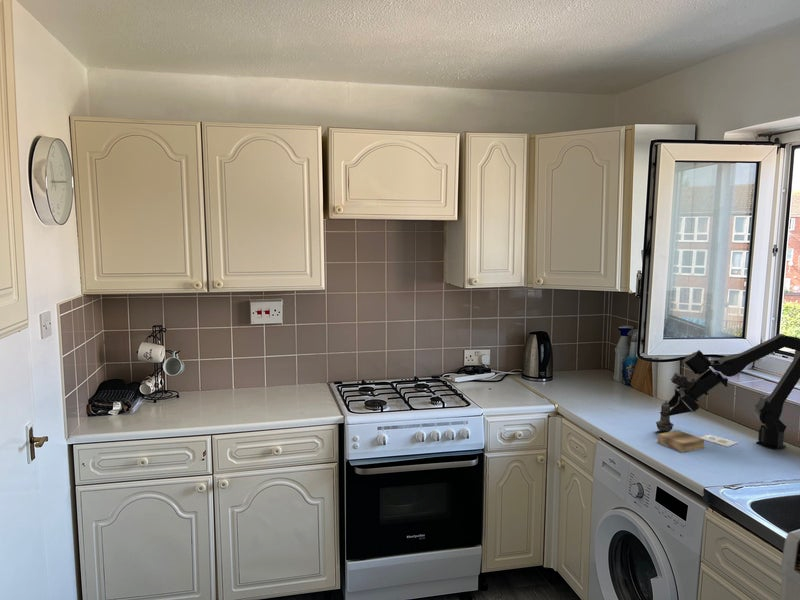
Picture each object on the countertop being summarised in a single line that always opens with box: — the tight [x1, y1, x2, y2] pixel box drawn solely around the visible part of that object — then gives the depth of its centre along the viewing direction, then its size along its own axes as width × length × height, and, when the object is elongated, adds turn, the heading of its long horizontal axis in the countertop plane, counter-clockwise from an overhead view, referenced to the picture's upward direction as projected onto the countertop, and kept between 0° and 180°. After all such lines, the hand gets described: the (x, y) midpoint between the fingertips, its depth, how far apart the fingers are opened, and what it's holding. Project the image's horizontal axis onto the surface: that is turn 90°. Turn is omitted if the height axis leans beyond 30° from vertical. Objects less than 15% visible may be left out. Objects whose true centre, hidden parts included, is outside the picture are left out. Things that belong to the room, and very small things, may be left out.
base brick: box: [657, 429, 705, 453], centre depth 195 cm, size 10×10×3 cm
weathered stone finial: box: [655, 400, 675, 435], centre depth 207 cm, size 6×6×12 cm
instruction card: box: [698, 434, 739, 448], centre depth 200 cm, size 10×7×1 cm
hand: (667, 411), depth 206 cm, fingers open, 9 cm apart
